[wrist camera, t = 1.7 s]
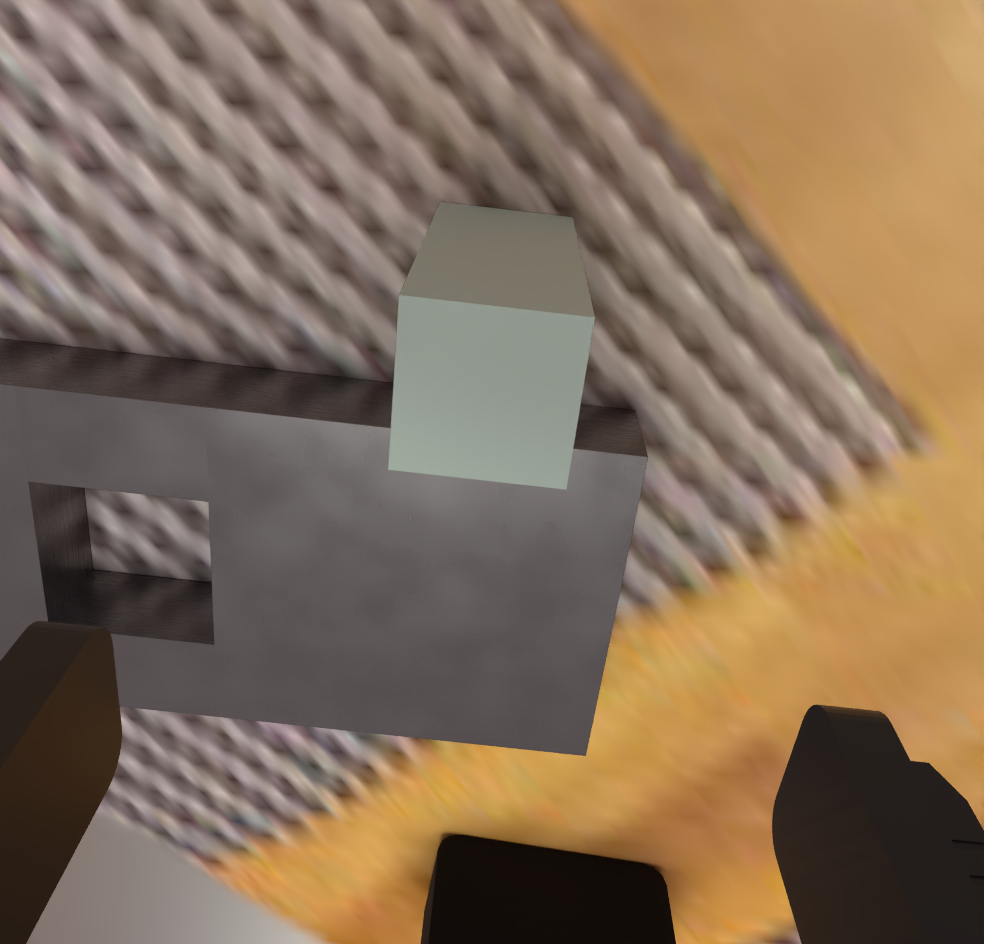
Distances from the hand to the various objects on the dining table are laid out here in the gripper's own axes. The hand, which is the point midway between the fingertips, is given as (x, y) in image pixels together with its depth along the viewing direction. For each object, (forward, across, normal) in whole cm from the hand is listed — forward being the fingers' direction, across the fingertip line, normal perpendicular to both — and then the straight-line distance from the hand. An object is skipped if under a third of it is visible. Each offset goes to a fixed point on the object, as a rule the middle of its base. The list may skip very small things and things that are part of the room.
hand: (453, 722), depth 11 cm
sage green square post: (+20, 0, 0) cm, 20 cm away
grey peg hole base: (+20, +6, +10) cm, 23 cm away
